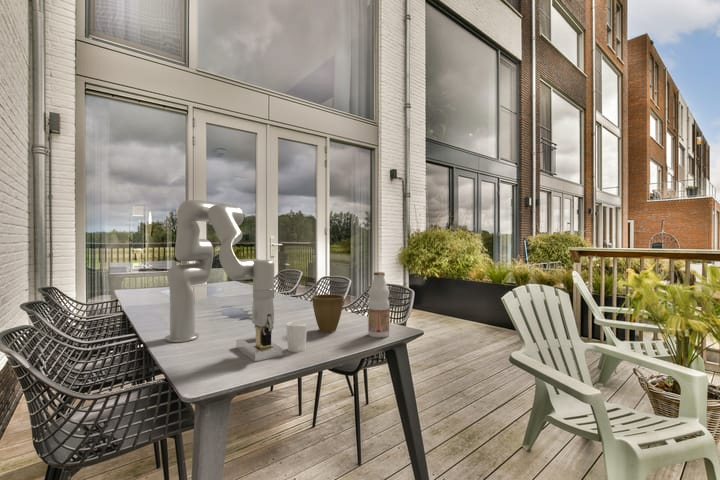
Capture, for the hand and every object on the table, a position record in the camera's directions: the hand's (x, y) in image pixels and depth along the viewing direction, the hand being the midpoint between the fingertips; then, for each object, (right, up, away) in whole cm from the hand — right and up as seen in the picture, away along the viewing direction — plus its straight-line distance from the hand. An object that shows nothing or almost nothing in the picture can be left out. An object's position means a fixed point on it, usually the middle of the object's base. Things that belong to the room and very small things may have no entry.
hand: (263, 343), depth 132 cm
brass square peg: (0, -4, 0) cm, 4 cm away
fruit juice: (+44, -5, +28) cm, 52 cm away
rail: (-3, -4, +4) cm, 7 cm away
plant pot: (+21, -5, +36) cm, 41 cm away
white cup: (+11, -5, +7) cm, 14 cm away
